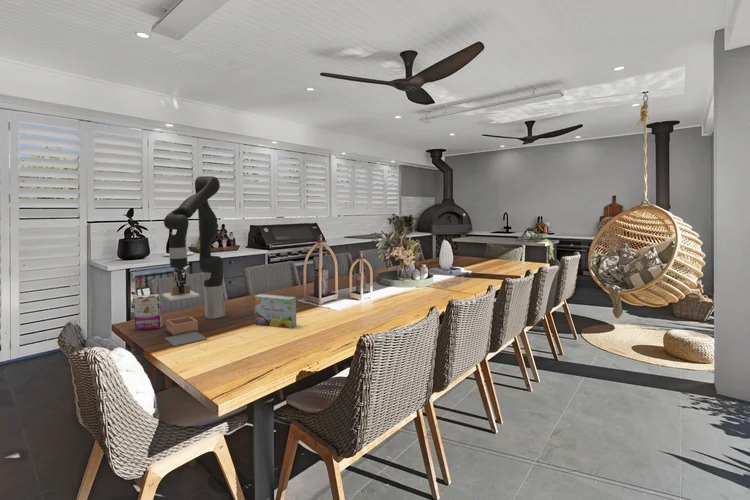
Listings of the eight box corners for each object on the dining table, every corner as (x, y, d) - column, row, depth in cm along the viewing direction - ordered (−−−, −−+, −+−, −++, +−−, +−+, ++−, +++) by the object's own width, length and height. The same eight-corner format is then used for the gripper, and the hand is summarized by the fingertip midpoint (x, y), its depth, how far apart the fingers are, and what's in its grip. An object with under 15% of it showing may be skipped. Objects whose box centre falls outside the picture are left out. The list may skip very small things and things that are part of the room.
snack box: (254, 325, 208) (253, 295, 207) (261, 322, 213) (260, 293, 212) (291, 329, 201) (290, 298, 200) (297, 325, 207) (296, 296, 205)
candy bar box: (162, 326, 206) (161, 293, 205) (160, 328, 202) (158, 296, 200) (137, 327, 203) (135, 295, 202) (135, 330, 199) (132, 297, 197)
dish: (190, 325, 206) (190, 316, 206) (198, 330, 198) (197, 320, 198) (166, 330, 199) (166, 320, 199) (173, 335, 191) (173, 325, 190)
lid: (190, 291, 206) (189, 282, 205) (199, 296, 196) (198, 285, 196) (162, 295, 197) (161, 285, 197) (170, 300, 188) (169, 289, 187)
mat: (196, 332, 195) (196, 331, 195) (207, 339, 185) (207, 338, 185) (164, 339, 186) (164, 337, 186) (174, 346, 176) (173, 345, 176)
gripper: (191, 257, 192) (193, 293, 194) (182, 254, 202) (184, 289, 204) (174, 259, 187) (176, 296, 189) (165, 256, 197) (167, 291, 199)
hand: (180, 292), depth 197 cm, fingers closed on lid, 3 cm apart
